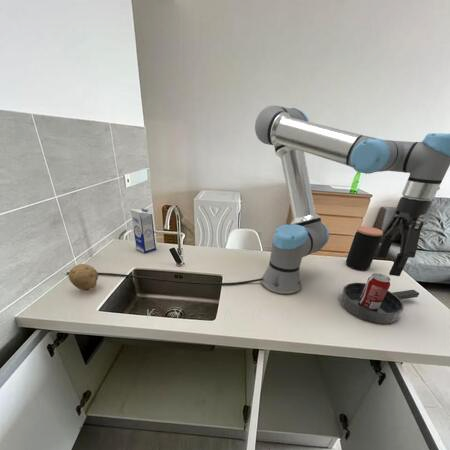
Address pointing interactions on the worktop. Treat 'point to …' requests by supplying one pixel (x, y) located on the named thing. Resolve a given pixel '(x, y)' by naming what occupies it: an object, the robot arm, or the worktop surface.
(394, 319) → the pan
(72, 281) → the potato
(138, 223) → the milk carton
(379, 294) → the soda can
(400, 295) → the pan handle
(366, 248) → the coffee jar
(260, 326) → the worktop surface
